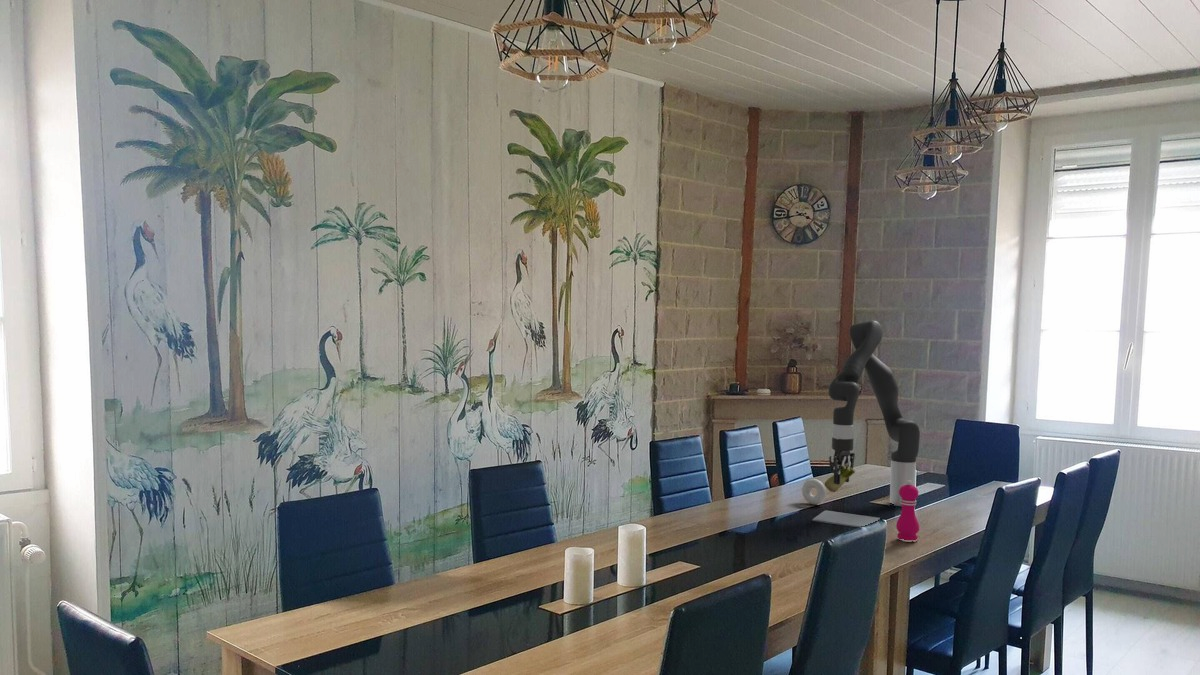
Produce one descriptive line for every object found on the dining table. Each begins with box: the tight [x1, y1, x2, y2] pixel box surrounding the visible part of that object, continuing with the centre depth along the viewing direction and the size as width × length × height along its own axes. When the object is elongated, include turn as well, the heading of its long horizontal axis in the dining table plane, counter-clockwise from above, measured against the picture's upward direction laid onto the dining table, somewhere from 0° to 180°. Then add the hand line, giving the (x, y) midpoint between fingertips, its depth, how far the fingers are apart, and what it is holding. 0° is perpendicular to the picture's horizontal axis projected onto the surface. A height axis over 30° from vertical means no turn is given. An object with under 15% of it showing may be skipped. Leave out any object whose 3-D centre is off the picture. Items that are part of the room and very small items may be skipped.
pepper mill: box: [895, 480, 920, 540], centre depth 278 cm, size 7×7×20 cm
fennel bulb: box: [824, 466, 856, 493], centre depth 305 cm, size 6×5×12 cm
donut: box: [801, 478, 827, 506], centre depth 327 cm, size 10×4×10 cm, turn 47°
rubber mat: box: [812, 509, 881, 528], centre depth 304 cm, size 16×20×1 cm
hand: (841, 482), depth 304 cm, fingers closed on fennel bulb, 5 cm apart
